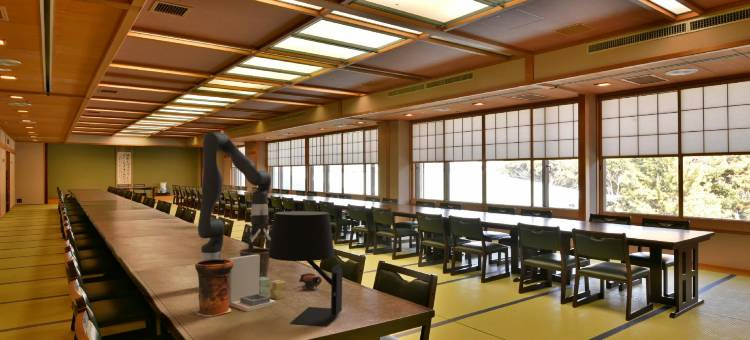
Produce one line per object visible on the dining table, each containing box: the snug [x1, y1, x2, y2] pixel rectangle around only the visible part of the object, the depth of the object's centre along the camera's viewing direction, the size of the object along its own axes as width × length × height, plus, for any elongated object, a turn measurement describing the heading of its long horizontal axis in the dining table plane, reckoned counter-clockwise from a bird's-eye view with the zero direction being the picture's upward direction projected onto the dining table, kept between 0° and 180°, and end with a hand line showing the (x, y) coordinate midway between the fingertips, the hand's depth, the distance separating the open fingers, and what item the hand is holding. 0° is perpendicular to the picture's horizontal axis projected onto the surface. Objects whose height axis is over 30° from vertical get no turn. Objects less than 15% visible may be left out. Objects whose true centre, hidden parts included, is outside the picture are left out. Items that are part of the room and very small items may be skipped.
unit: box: [228, 254, 277, 313], centre depth 189 cm, size 14×14×20 cm
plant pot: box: [238, 247, 270, 278], centre depth 231 cm, size 16×16×16 cm
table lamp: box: [268, 210, 343, 328], centre depth 175 cm, size 26×28×40 cm
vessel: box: [194, 258, 233, 317], centre depth 178 cm, size 14×14×20 cm
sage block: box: [259, 277, 272, 296], centre depth 207 cm, size 5×5×7 cm
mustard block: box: [269, 279, 287, 300], centre depth 201 cm, size 5×5×7 cm
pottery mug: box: [298, 272, 322, 291], centre depth 219 cm, size 12×10×8 cm
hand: (259, 249), depth 205 cm, fingers open, 8 cm apart
